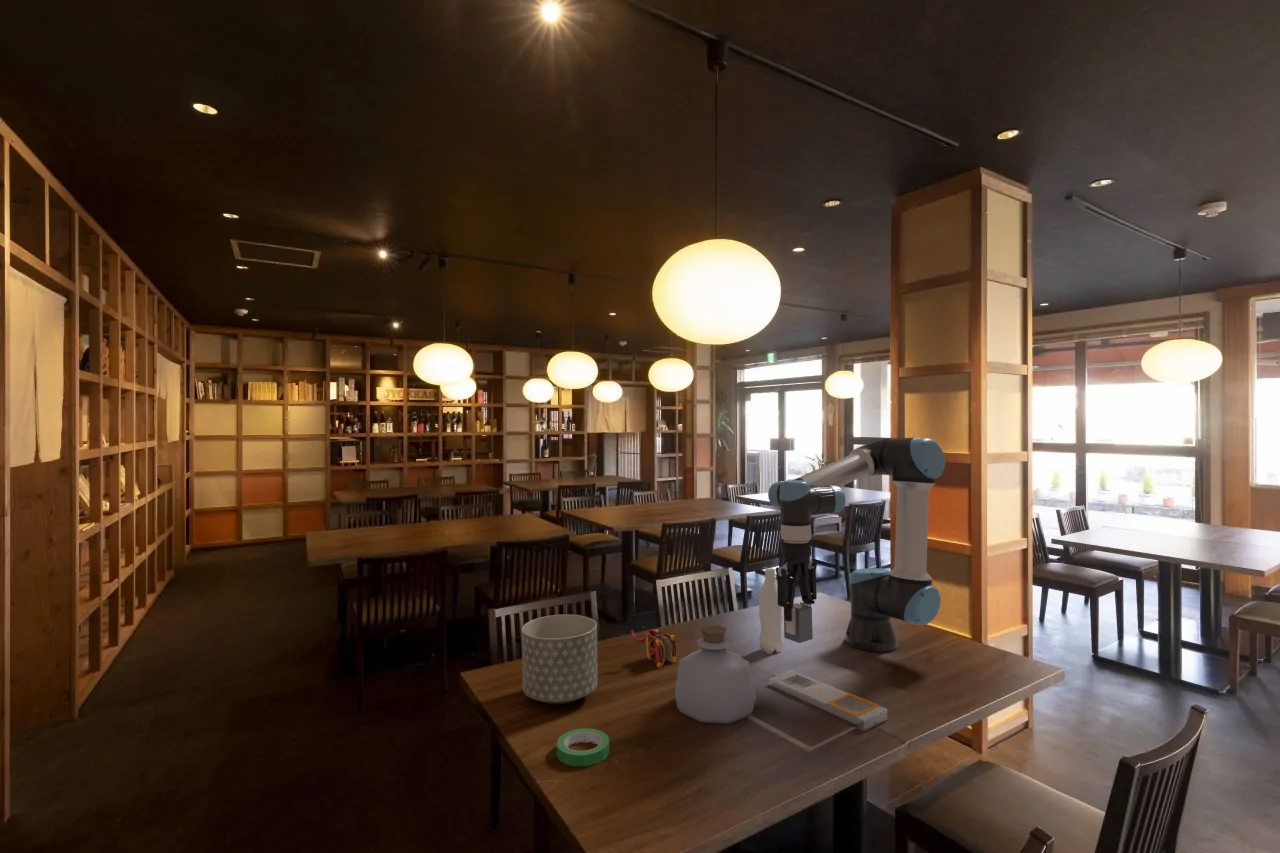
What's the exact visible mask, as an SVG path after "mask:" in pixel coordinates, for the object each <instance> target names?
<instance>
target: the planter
mask: <svg viewBox="0 0 1280 853" xmlns="http://www.w3.org/2000/svg"><path fill="white" fill-rule="evenodd" d="M597 626H598V625H597V621H595V620H594V619H593V618H591V617H588V616H583V615H580V614H553V615H546V616H542V617H538V618H535V619H532V620H531V619H530V621H527V622H526V623H525V624H523V626H522V628H521V653H522V654H521V662H522V663H521V665H522V667H521V668H522V669H521V670H522V692H523V694H524V695H525V696H527V697H528V698H530V699H531V700H534V701H538V702H543V703H546V704H548V705H565V704H569V703H572V702H575V701H578V700H580V699H581V698H585V697H586V696H588V695H590V694H592V693H593V692H594V691H595V690H596V689H597V687H598V684H599V682H598V680H599V677H598V676H599V675H598V627H597Z"/></svg>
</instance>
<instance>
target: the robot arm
mask: <svg viewBox="0 0 1280 853" xmlns="http://www.w3.org/2000/svg"><path fill="white" fill-rule="evenodd" d="M940 446H941V445H939V443H937V441H935V440H934V439H931V438H927V437H925V438H924V437H919V436H918V437H886V438H881V439H877V440H874V441H871V442H868V443H866V444H864V445H862V446H859V447H857V448H855V449H853V450H851V451H850V452H849V453H848V455H847V456H845V457H843V458H840V459H838V460H835V461H833V462H830V463H829V464H826V465H824V466H822V467H819V468H817V469H815V470H812V471H810V472H808V473H806V474H803V475H802V476H799V477H797V478H793V479H792V480H790V479H789V480H783V481H779V482H778V481H777V482H776V481H775V482H774V483H772V484H771V486H770V487H769V489H768V493H767V496H768V501H769V503H770V504H771V505H772V506H773V507H775V508H779V510H780V533H781V534H780V538H781V540H782V541H781V543H780V548H781V550H780V551H781V556H783V564H782V566H780V567H776V568H775V574H776V583H777V593H778V606H781V607H782V608H783V620H784V619H785V620H786V632H787V633H790V634H793V635H795V634H796V615H795V608H793V604H795V602H794V601H795V594H796V588H797V583H798V588H799V592H800V596H801V602H799V604H801V605H804V606H808V607H811V608H812V605H814V604H815V602H816V600H817V596H818V594H817V592H818V591H817V567H818V563H817V561H813V560H810V557H811V556H812V542H811V540H812V526H811V525H812V524H811V516H820V515H832V514H836V513H839V512H841V511H842V510H843V509H844V508H845V506H846V494H845V492H844V490H843V489H842V488H841V487H843V486H845V485H847V484H849V483H851V482H854V481H856V480H858V479H860V478H861V479H868V478H870V477H873V476H881V475H882V476H891V482H892V483H893V484H894V485H895V486H896V488H897V490H896V493H897V494H896V515H895V516H896V517H895V518H896V520H895V546H894V567H893V568H892V569H891V570H889V569H887V568H879V567H878V568H877V567H876V568H875V567H873V568H861V569H855V570H853V571H852V572H851V573H850V579H849V580H850V582H849V591H850V594H849V595H850V619H849V621H848V625H847V628H846V631H845V642H846V643H847V644H848V646H851V647H853V648H855V649H859V650H862V651H868V652H876V653H877V652H879V653H882V652H883V653H884V652H891V651H893V650H896V649H897V648H898V637H897V635H896V631H895V629H894V626H893V624H892V623H893V622H892V619H891V618H893V619H896V620H900V621H903V622H906V623H908V624H910V625H911V624H912V625H917V626H926V625H928V624H930V623H931V622H933V621H934V619H935V617H937V615H938V613H939V611H940V607H941V601H942V600H941V594H940V592H939V589H938V588H936V587H935V586H933V581H932V580H933V578H932V576H931V575H930V574H929V573H928V571H927V564H928V562H927V561H928V537H929V535H928V534H929V533H928V531H929V530H928V529H929V508H930V505H929V500H930V489H931V488H933V487H934V486H935V485H936V479H937V478H940V477H941V476H942V475H943V473H944V470H945V468H946V459H945V454H944V451H943V449H942V447H940Z"/></svg>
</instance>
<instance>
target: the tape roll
mask: <svg viewBox="0 0 1280 853" xmlns="http://www.w3.org/2000/svg"><path fill="white" fill-rule="evenodd" d="M583 741H585V742H583ZM578 742H582V743H589V742H593V743H592V744H594V743H595V744H594V745H596V744H597V746H595V747H593V748H590V749H587V750H576V749H571V748H570V747H568V746H569V745H571V744H574V743H577V744H579V743H578ZM574 745H575V744H574ZM571 746H572V745H571ZM609 753H610V737H609V736H608V735H607V733H605V732H603V731H602V730H599V729H595V728H586V727H585V728H578V729H577V728H576V729H572V730H569V731H567V732H565V733H563V734H561V736H559V737H558V738H557V740H556V757H558V758H559V759H558V758H557V759H558V761H560V762H561V761H562V762H563V763H562V762H561V763H562V764H564V763H565V764H564V765H566V764H568V765H567V766H569V765H572V766H571V767H574V766H586V767H588V766H587V765H591V766H593V765H592V764H595V763H597V764H599V763H601V762H602V760H603V761H604V760H605V759H606V758H608V755H609ZM598 762H599V763H598ZM595 765H596V764H595Z"/></svg>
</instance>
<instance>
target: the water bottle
mask: <svg viewBox="0 0 1280 853" xmlns="http://www.w3.org/2000/svg"><path fill="white" fill-rule="evenodd" d="M764 573H765V574H764V582H763V584H762V585H761V588H760V590H759V593H758V599H759V600H758V604H759V606H758V608H759V610H758V611H759V612H758V617H759V619H760V620H759V621H760V633H759V639H758V640H759V647H760V650H761V651H762V652H763V653H765V654H767V655H773V653H775V654H777V653H781V652H782V650H783V648H784V645H785V644H784V640H785V638H784V635H783V628H782V626H783V619H784V608H783V607H781V606H778V593H777V574H776V568H769V567H768V568H765V570H764Z"/></svg>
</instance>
